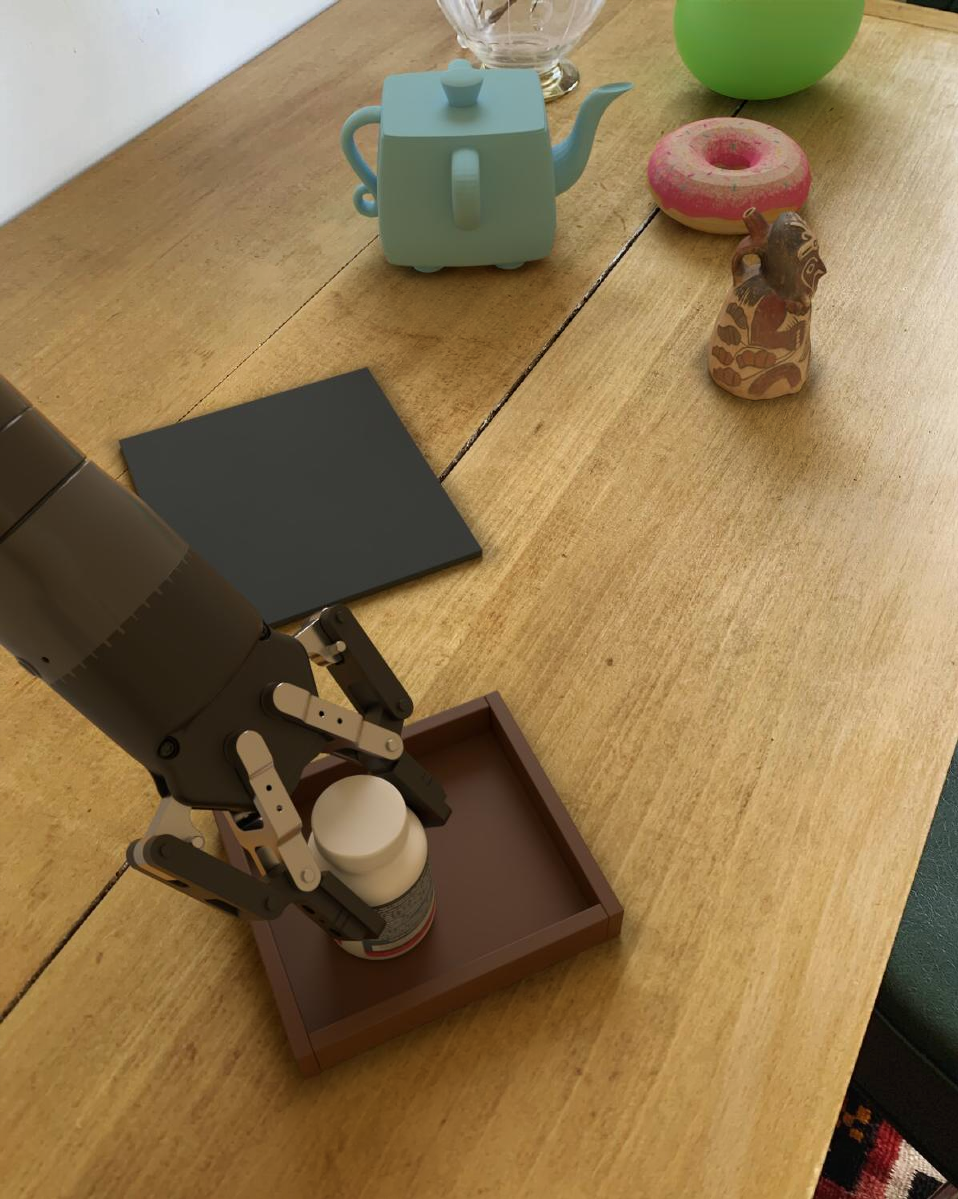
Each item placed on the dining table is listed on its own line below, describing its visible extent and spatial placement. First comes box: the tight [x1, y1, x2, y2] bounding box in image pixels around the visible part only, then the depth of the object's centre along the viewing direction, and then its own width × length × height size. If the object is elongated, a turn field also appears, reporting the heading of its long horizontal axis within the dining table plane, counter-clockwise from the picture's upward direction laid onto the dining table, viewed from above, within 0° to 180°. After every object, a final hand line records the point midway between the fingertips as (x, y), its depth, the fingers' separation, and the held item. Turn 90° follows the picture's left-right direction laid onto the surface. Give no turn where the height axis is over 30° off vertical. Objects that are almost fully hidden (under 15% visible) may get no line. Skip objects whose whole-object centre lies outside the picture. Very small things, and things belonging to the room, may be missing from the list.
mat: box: [118, 366, 484, 630], centre depth 71 cm, size 18×20×1 cm
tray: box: [211, 690, 625, 1080], centre depth 53 cm, size 16×14×2 cm
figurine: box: [706, 207, 828, 401], centre depth 74 cm, size 7×7×12 cm
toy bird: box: [672, 0, 866, 101], centre depth 102 cm, size 18×17×15 cm
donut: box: [646, 117, 813, 235], centre depth 92 cm, size 14×13×5 cm
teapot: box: [339, 58, 635, 273], centre depth 86 cm, size 18×16×14 cm
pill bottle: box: [308, 775, 435, 960], centre depth 49 cm, size 5×5×9 cm
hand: (405, 873), depth 48 cm, fingers closed on pill bottle, 5 cm apart
